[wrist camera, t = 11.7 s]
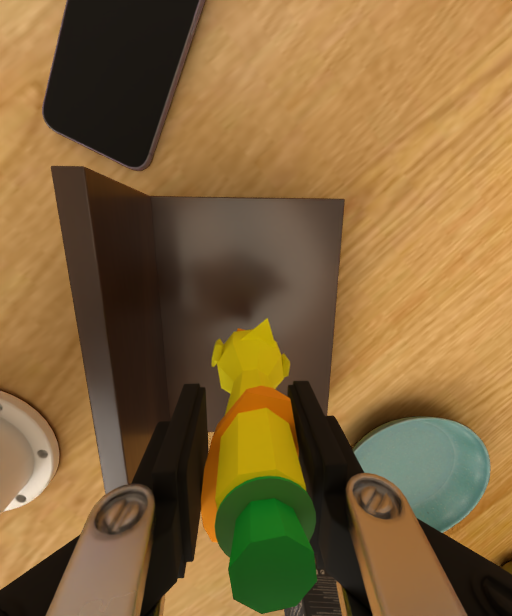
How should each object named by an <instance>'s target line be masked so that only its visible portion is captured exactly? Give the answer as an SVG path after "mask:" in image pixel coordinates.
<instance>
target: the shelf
mask: <svg viewBox="0 0 512 616" xmlns="http://www.w3.org/2000/svg"><path fill="white" fill-rule="evenodd" d="M51 172H52V178H53V184H54V189H55V195H56V201H57V207H58V213H59V219H60V225H61V231H62V237H63V243H64V249H65V255H66V261H67V267H68V273H69V279H70V285H71V291H72V297H73V303H74V309H75V315H76V321H77V327H78V333H79V339H80V345H81V351H82V357H83V363H84V369H85V375H86V381H87V386H88V392H89V398H90V404H91V410H92V416H93V422H94V428H95V434H96V440H97V446H98V452H99V458H100V464H101V470H102V476H103V482H104V488H105V494H107V493H109V492H110V491H111V490H113V489H116V488H118V487H120V486H123V485H127V484H131V483H132V480H133V478H134V476H135V474H136V471H137V469H138V467H139V464H140V462H141V460H142V457H143V455H144V453H145V451H146V448H147V446H148V444H149V441H150V439H151V437H152V434H153V432H154V430H155V427H156V425H157V424H158V422H160V421H171V418H172V415H173V413H174V410H175V407H176V405H177V402H178V399H179V396H180V394H181V391H182V388H183V386H184V384H193V383H200V387H205V389H206V407H207V429H208V432H215V430H216V427H217V424H218V423H219V422H220V421H221V420H222V418H223V417H224V416H225V412H226V409H227V405H228V401H229V398H230V393H228V392H227V391H225V390H224V389H222V388H221V384H220V378H219V373H218V367H217V364H216V365H215V366H214V367H212V366H211V365H212V355H213V350H214V346H215V343H216V341H217V340H218V339H221V341H222V343H223V345H224V344H225V342H226V341H227V340H228V339H229V337H230V336H231V335H232V333H233V332H236V331H237V329H238V328H240V329H243V330H251V329H254V328H256V327H257V326H258V325H259V324H260V323H262V322H263V321H264V320H265V319H267V318H268V321H269V324H270V328H271V332H272V335H273V339H274V341H276V342H277V345H278V348H279V350H280V353H281V355H282V354H285V355H286V357H287V358H288V360H289V361H290V369H289V375H288V376H286V377H284V379H283V380H282V382H281V383H280V384H279V385H278V386H277V387H276V389H275V390H277V391H279V392H280V393H282V394H284V395H285V396H287V389H288V385H293V381H309V383H310V385H311V387H312V389H313V392H314V394H315V396H316V398H317V400H318V402H319V404H320V406H321V408H322V411H323V413H324V415H325V416H327V410H328V397H329V385H330V373H331V361H332V348H333V336H334V324H335V312H336V299H337V287H338V275H339V262H340V250H341V238H342V226H343V213H344V201H345V200H344V199H316V198H244V197H171V196H149V195H146V194H144V193H142V192H140V191H137V190H135V189H133V188H131V187H128V186H126V185H124V184H122V183H119V182H117V181H115V180H113V179H110V178H108V177H106V176H104V175H101V174H99V173H97V172H95V171H92V170H90V169H88V168H86V167H83V166H51Z"/></svg>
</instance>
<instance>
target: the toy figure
mask: <svg viewBox="0 0 512 616" xmlns="http://www.w3.org/2000/svg"><path fill="white" fill-rule="evenodd" d="M216 364H217V367H218V373H219V378H220V384H221V388H222V389H224V390H225V391H227V392H228V393H230V398H229V401H228V405H227V409H226V412H225V416H224V417H223V418H222V420H221V421H220V422H219V423H218V424H217V427H216V430H215V432H214V435H213V438H212V441H211V445H210V449H209V453H208V457H207V460H206V464H205V468H204V476H203V485H202V493H201V514H202V520H203V527H204V528H205V530H206V532H207V534H208V535H209V537H210V539H211V541H212V542H218V544H219V546H220V547H221V549H222V550H223V551H224V553H225V554H226V555H227V556H228V557H230V562H229V568H228V571H229V576H230V582H231V588H232V593H233V599H234V600H236V601H238V602H240V603H242V604H244V605H246V606H248V607H249V608H251V609H253V610H255V611H257V612H259V613H261V614H263V613H268V612H272V611H277V610H281V609H286V608H290V607H295V606H296V605H297V604H298V603H299V602H300V601H301V600H302V598H303V597H304V596H305V595H306V594H307V592H308V591H309V590H310V589H311V588H312V587H313V585H314V584H315V583H316V582H317V575H316V566H315V558H314V551H313V549H312V547H311V545H310V543H309V541H310V539H311V537H312V535H313V533H314V529H315V524H316V512H315V508H314V505H313V502H312V500H311V498H310V496H309V495H308V493H307V492H306V485H305V482H304V478H303V474H302V470H301V467H300V463H299V459H298V457H299V447H298V441H297V435H296V429H295V423H294V417H293V411H292V405H291V400H290V398H289V397H287V396H285V395H284V394H282V393H280V392H279V391H277V390H275V389H276V387H277V386H278V385H279V384H280V383H281V382H282V380H283V379H284V377H286V376H288V375H289V369H290V361H289V360H288V358H287V357H286V355H285V354H282V355H281V353H280V350H279V348H278V345H277V342H276V341H274V339H273V335H272V332H271V328H270V324H269V321H268V318H267V319H265V320H264V321H263V322H262V323H260V324H259V325H258V326H257V327H256V328H254V329H251V330H243V329H240V328H238V329H237V331H236V332H233V333H232V335H231V336H230V337H229V339H228V340H227V341H226V342H225V344H224V345H223V343H222V341H221V339H218V340H217V341H216V343H215V346H214V350H213V355H212V365H211V366H212V367H214V366H215V365H216Z"/></svg>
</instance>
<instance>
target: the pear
mask: <svg viewBox="0 0 512 616" xmlns="http://www.w3.org/2000/svg"><path fill="white" fill-rule="evenodd" d="M502 569H504V570H506V571H507V572H509V573H510V574H512V561H511V562H508V563H506V564H505V565H503V566H502Z"/></svg>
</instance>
